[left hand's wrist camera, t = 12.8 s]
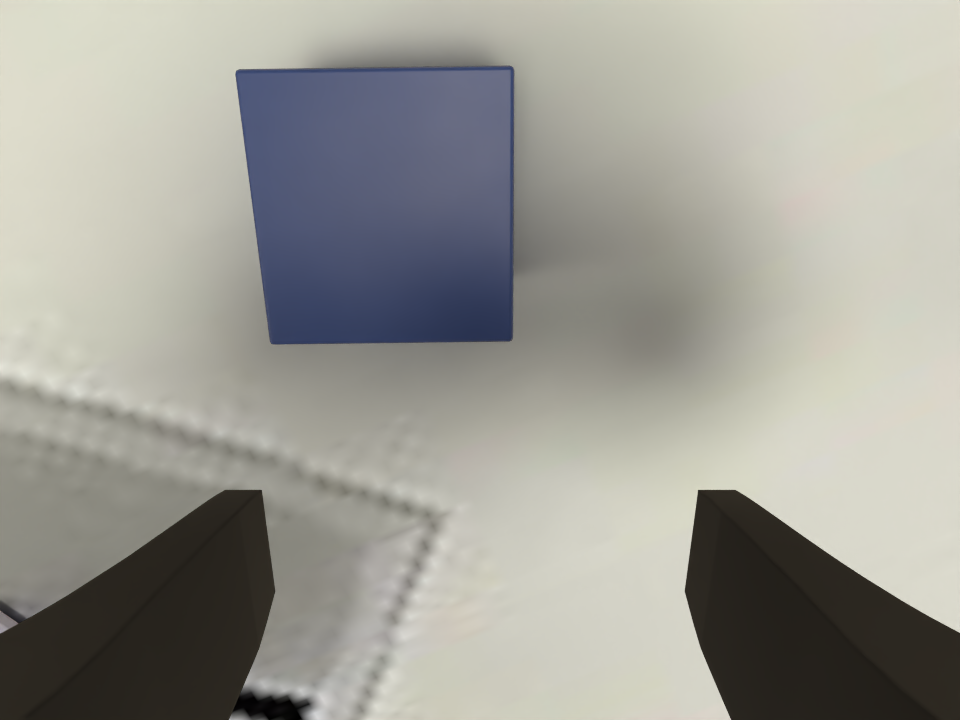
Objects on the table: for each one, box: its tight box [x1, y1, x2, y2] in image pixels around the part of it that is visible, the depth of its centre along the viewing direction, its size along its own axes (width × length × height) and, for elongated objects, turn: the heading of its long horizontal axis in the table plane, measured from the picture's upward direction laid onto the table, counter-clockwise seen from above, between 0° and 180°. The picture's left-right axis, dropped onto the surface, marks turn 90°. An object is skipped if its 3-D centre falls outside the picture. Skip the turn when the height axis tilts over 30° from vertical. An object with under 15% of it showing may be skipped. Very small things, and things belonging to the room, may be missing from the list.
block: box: [236, 66, 514, 344], centre depth 14 cm, size 5×4×5 cm
